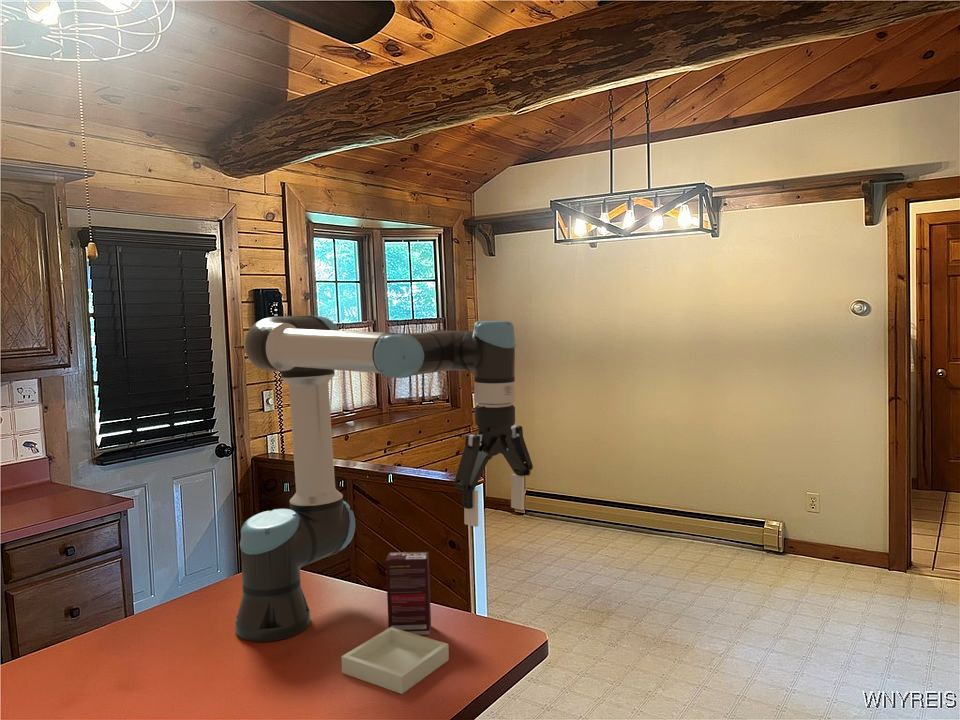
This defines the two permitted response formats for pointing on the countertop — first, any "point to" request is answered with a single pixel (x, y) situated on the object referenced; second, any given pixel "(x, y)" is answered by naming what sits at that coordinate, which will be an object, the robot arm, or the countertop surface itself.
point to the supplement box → (409, 592)
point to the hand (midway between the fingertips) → (495, 516)
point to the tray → (395, 659)
